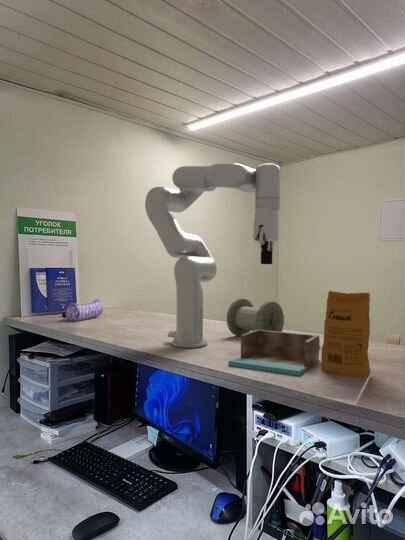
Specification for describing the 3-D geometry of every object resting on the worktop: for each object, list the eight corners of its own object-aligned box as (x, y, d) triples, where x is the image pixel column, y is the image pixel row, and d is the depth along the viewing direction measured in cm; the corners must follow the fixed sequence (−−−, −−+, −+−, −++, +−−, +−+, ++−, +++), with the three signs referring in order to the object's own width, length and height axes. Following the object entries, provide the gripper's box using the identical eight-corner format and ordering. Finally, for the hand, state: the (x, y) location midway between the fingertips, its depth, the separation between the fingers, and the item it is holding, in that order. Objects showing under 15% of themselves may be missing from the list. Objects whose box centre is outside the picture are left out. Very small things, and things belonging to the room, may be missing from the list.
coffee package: (327, 366, 115) (328, 289, 115) (373, 373, 108) (375, 291, 108) (316, 374, 107) (317, 291, 106) (365, 382, 100) (367, 293, 99)
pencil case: (78, 322, 195) (78, 303, 195) (62, 321, 198) (62, 302, 198) (104, 317, 216) (104, 299, 216) (89, 316, 219) (89, 298, 219)
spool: (226, 337, 160) (226, 299, 159) (252, 333, 169) (252, 297, 169) (258, 343, 147) (258, 303, 147) (283, 339, 157) (284, 300, 157)
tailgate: (239, 362, 118) (228, 365, 111) (239, 357, 118) (228, 361, 111) (307, 371, 108) (299, 375, 102) (307, 367, 108) (300, 371, 102)
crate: (240, 362, 119) (240, 335, 119) (255, 354, 129) (255, 329, 129) (308, 371, 109) (308, 342, 109) (318, 362, 120) (319, 335, 119)
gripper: (264, 208, 133) (263, 264, 134) (246, 202, 120) (246, 263, 121) (286, 207, 130) (285, 264, 130) (270, 200, 117) (269, 264, 117)
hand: (266, 264), depth 125 cm, fingers closed
